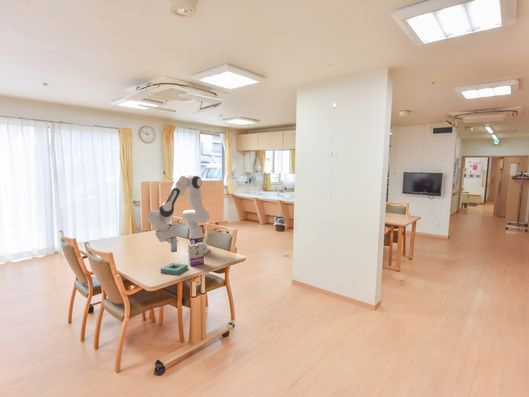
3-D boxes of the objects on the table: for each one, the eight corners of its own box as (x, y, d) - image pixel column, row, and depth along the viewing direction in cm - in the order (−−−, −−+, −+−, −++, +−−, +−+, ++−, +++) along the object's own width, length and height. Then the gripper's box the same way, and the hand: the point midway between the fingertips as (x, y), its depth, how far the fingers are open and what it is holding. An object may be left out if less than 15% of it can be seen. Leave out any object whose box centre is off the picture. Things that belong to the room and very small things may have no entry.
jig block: (171, 266, 232) (171, 263, 231) (187, 268, 228) (187, 264, 227) (160, 272, 218) (160, 268, 218) (177, 274, 214) (177, 270, 214)
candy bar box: (201, 262, 243) (201, 242, 241) (204, 264, 239) (203, 244, 237) (188, 264, 237) (187, 244, 235) (190, 266, 232) (190, 246, 231)
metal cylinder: (173, 250, 224) (172, 237, 223) (178, 250, 223) (177, 237, 222) (169, 251, 220) (169, 238, 219) (174, 252, 219) (174, 239, 218)
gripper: (156, 229, 212) (168, 243, 210) (173, 223, 231) (184, 237, 229) (151, 234, 213) (163, 249, 212) (168, 229, 233) (179, 242, 231)
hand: (174, 242), depth 221 cm, fingers closed on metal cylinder, 4 cm apart
